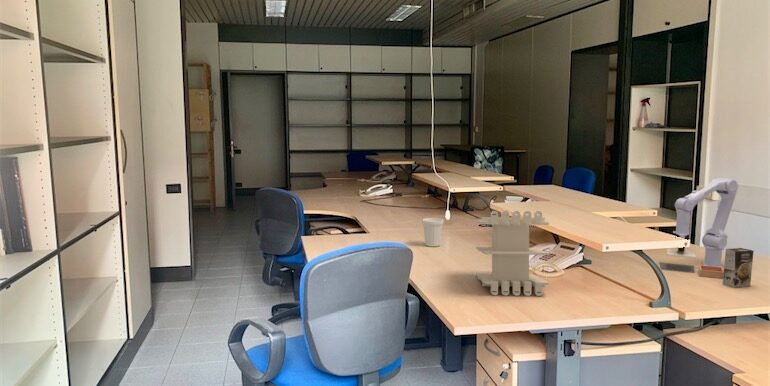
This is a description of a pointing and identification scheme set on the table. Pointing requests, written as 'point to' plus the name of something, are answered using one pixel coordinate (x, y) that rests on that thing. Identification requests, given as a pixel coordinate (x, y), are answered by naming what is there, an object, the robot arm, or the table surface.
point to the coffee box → (738, 267)
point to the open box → (710, 271)
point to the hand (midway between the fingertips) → (681, 250)
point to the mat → (677, 267)
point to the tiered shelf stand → (512, 253)
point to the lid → (680, 253)
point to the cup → (432, 231)
